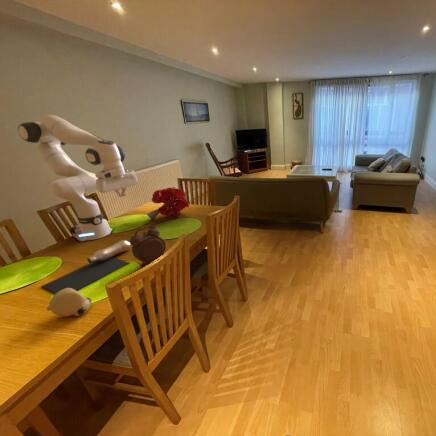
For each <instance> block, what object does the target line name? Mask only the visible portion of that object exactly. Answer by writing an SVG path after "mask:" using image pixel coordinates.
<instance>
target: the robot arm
mask: <svg viewBox="0 0 436 436" xmlns="http://www.w3.org/2000/svg"><path fill="white" fill-rule="evenodd" d="M17 131H18V133H19V136H20V137H21V139H22V140H24V141H25V142H26V143H27V142H28V143H33V144H37V143H38V144H37V146H36V151H37V153H38V154H39V156H40V158H41V159H42V160H43V161H44V163H45V164H46V165H47V166H48V167H49V169H50V170H51V171H52V172H53V173H54V174H55V175H57V176H60V177H62V178H59V179H57V180H55V181H52V182H51V183H50V191H51V192H52V194H53V195H54V196H55V197H57V198H60V199H64V200H66V201H68V202H69V203H70V204H71V205H72V206H73V208H74V210H75V212H76V215H77V221H78V223H77V224H74V225H73V226H71V227H70V228H69V232H70V234H72V236H73V237H74V238H75V239H77V241H79V242H85V241H94V240H98V239H102V238H104V237H106V236H109V235H110V234H111V232H112V231H113V228H112V227H110V225H109V223H108V220H107V218H106V219H105V218H104V215H103V213H102V212H101V209H100V206H99V204H98V202H97V201H96V200H94V199H93V198H88V197H85V194H89V193H92V192H96V191H98V192H99V193H103V194H105V193H109V192H112V191H114V192H115V193H116V194H117V195H118V197H119V198H121V197H125V196H126V191H127V188H129V187H133V186H137V185H138V184H139V181H138V178H137V175H136V171H135V170H134V169H132V168H128V169H125V167H124V164H123V162H124V161H125V159H126V153H125V150H124V149H123V148H122V147H121V146H120V145H118V144H116V142H114V141H113V140H106V139H104V138H102V137H100V136H98V135H96V134H94V133H92V132H89V131H88V130H87V131H86V130H84V129H82V128H79V127H78V126H77V125H74V124H73V123H70V122H69V121H68V120H66V119H64V118H62V117H60V116H58V115H55V114H47V115H44V116H43V117H42V119H41V121H38V122H37V121H35V122H34V121H27V122H22V123H20V124H19V125H18V127H17ZM65 145H68V146H69V145H70V146H88V147H89V148H87V149H86V150H85V153H84V155H85V159H86V161H87V162H88V163H89V164H91V165H92V166H103V169H102V170H100V171H98V172H96V173H95V172H94V173H93V172H90V171H88V170H86V169H84V168H82V167H80V166H79V165H77V164H76V163H75V162H74V161H73V160H72V158H70V156H69V155H68V154H67V153H66V151H64V149H63V148H62V146H65ZM120 189H121V191H120Z"/></svg>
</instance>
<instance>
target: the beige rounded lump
mask: <svg viewBox="0 0 436 436" xmlns="http://www.w3.org/2000/svg"><path fill="white" fill-rule="evenodd" d="M92 300H93V299H91V298H90V297H86V296H85V295H84V294H82V293H81V292H79V290H78V291H76V290H74V289H72V288H65V289H63V290H61V291H59V292H57V293H56V294H55V293H54V294H53V296H52V297H51V298H50V300H49V304H48V306H47V307H46V310H47V311H51V312H52V314H54V315H56V316H57V317H58V318H59V319H63V317H71V316H74V317H79V316H81V315H83V314H85V313H86V312H87V311H88V310H89V309H90V307H91V306H92V305H91V303H93V301H92Z"/></svg>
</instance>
